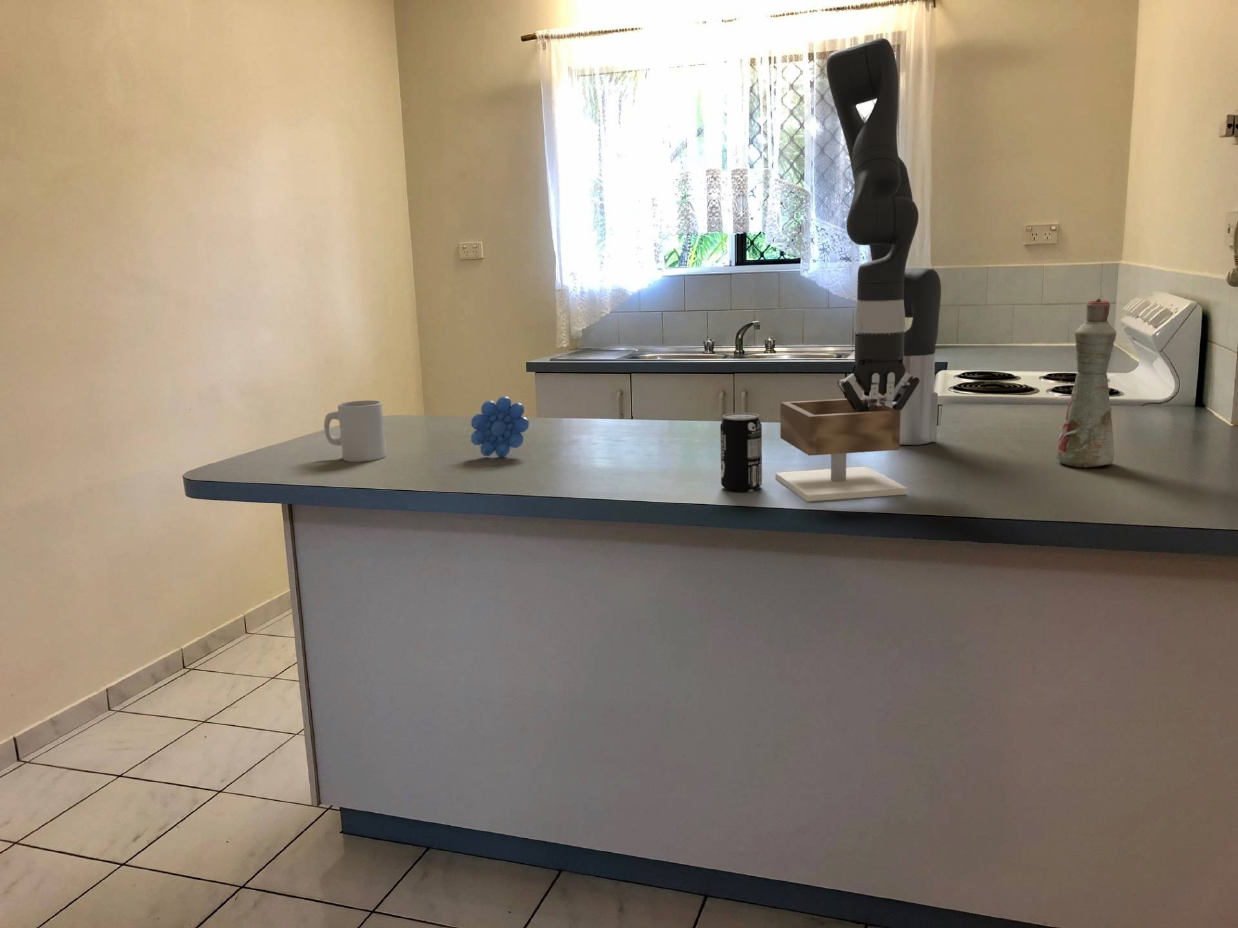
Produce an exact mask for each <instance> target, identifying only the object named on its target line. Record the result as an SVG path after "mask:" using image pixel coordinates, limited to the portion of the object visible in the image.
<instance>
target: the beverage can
mask: <svg viewBox="0 0 1238 928" xmlns="http://www.w3.org/2000/svg"><path fill="white" fill-rule="evenodd" d="M722 418H723V419H722V422H721V423H720V426H719V427H720V432H719V433H720V435H719V436H720V483H721V486H722V487H723V489H724V490H726V491H727V492H733V493H749V492H751V493H752V492H754V491H757V490H759V489H760V487H761V486H762V484H763V448H762V447H763V437H762V436H763V435H762V433H763V429H762V428H763V425H762V422H761V420H760V415H759V414H758V413H755V412H731V413H729V412H728V413H725V414H723V415H722Z"/></svg>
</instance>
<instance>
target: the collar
mask: <svg viewBox="0 0 1238 928" xmlns="http://www.w3.org/2000/svg"><path fill="white" fill-rule="evenodd" d="M859 398H860V400H861V401H862V403H863V398H862V397H859ZM779 412H780V425H779V426H780V429H779V431H780V435H779V436H780V437H779V438H780V439H781V440H783V441H785V442H786V443H787V444H789V445H791V446H793V447H794V448H796V449H798V450H799V451H801V452H802V453H804V454H806V455H807V456H824V455H831V454H842V453H846V454H855V453H856V454H857V453H868V452H869V453H871V452H872V453H873V452H884V451H885V452H886V451H888V452H889V451H899V450H900V445H901V444H900V415H901V411H898V410H896V409H893V408H890V407H888V406H885V405H882V404H880V403H879V402H877V404H876V411H873V412H858V411H855V410H853V408H852V406H851V405H850V403H849V402H848V400H847V399H846V398H835V399H834V398H831V399H818V400H817V399H814V400H801V401H800V400H799V401H797V400H796V401H782V402H780V411H779Z"/></svg>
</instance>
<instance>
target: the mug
mask: <svg viewBox="0 0 1238 928" xmlns="http://www.w3.org/2000/svg"><path fill="white" fill-rule="evenodd" d="M382 405H383V403H382V401H380V400H356V401H355V400H354V401H353V400H352V401H347V402H341V403H339V404H338V405H337V410H336V411H331V412H329V413H327V414H326V415H325V417H324V420H323V421H324V422H323V423H324V424H323V426H324V427H323V428H324V429H323V430H324V435H325V438H326V440H327V442H328V443H329V444H330V445H333V446H337V447H338V446H341V453H342V454H341V455H342V459H343V461H345V462H351V463H360V462H361V463H363V462H372V461H377V460H381V459H384V458H385V457H387V448H386V447H387V445H386V435H385V426H384V416H383V414H384V413H383V406H382ZM332 420H337V421H338V422H339V423H338V424H339V431H340V437H335V436H333V435H332V432H331V427H330V426H331V425H330V424H331V421H332Z"/></svg>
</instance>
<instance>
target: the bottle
mask: <svg viewBox="0 0 1238 928" xmlns="http://www.w3.org/2000/svg"><path fill="white" fill-rule="evenodd" d="M1085 305H1086V316H1085V317H1086V320H1085V321H1084V323H1082V324H1081V325H1080V326H1079V327H1078V328H1077V329H1076V330H1075V332H1074V338H1075V350H1076V354H1075V355H1076V369H1077V372H1076V375H1075V381H1074V383H1073V386H1072V390H1071V391H1072V392H1071V395H1070V398H1069V399H1070V400H1069V402H1068V406H1067V410H1066V413H1065V418H1064V421H1063V424H1062V427H1061V433H1060V434H1059V437H1058V447H1057V450H1056V458H1057V460H1058V462H1059V463H1060V464H1063V465H1065V466H1068V467H1069V466H1071V467H1075V468H1095V467H1101V466H1108V465H1111V464H1112V463H1113V462H1114V459H1115V446H1114V445H1115V443H1114V432H1113V421H1112V412H1113V411H1112V410H1113V409H1112V406H1111V402H1110V392H1109V381H1108V380H1109V379H1108V373H1107V372H1108V369H1109V365H1110V364H1109V363H1110V361H1111V358H1112V352H1113V348H1114V343H1115V341H1116V337H1117V330H1116V329H1115V328H1114V327H1113V326H1112V325H1111V324H1110V322H1109V321H1108V318H1109V314H1110V308H1111V307H1110V306H1111V304H1110V302H1109V301H1108V300H1104V301H1103V300H1102V299H1101V298H1096V299H1095V300H1088V301H1087V303H1086V304H1085Z"/></svg>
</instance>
